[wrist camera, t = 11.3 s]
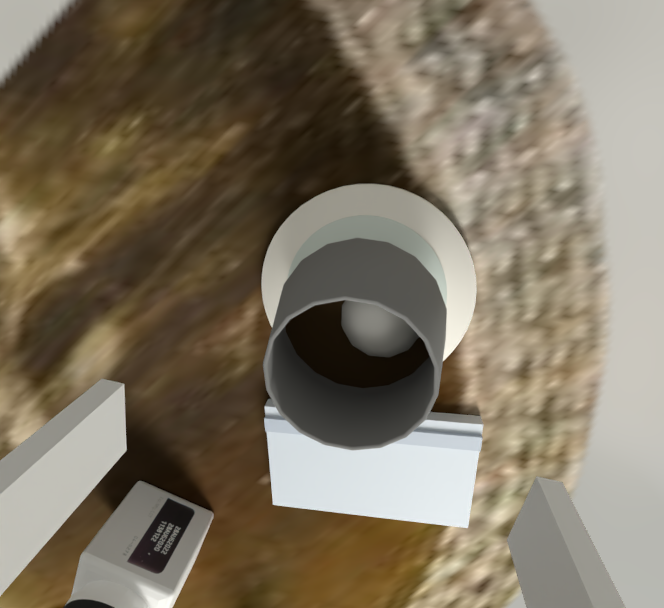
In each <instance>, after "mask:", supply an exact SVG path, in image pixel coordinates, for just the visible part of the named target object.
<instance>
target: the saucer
mask: <svg viewBox="0 0 664 608" xmlns="http://www.w3.org/2000/svg"><path fill="white" fill-rule="evenodd" d="M353 238H363V239H370V240H377V241H384V242H389V243H391V244H393V245H395V246H396V247H398V248H400V249H402V250H404V251H406V252H408V253H410V254H411V255H413V256H415V257H416V258H417V259H418V260H419V261H420V262H421V263H422V265H423V266H424V267H425V268H426V269H427V270H428V271H429V272H430V274H431V275H432V276H433V277H434V278H435V279H436V281H437V283H438V286H439V289H440V292H441V295H442V297H443V300H444V303H445V306H446V308H447V319H446V340H445V347H444V355H443V361H444V360H445V359H446V358H447V357H448V356H449V355H450V354H451V353H452V352H453V350H454V349H455V348H456V346H457V345H458V344H459V343H460V341H461V339H462V338H463V336H464V334H465V333H466V331H467V329H468V326H469V324H470V321H471V319H472V315H473V311H474V307H475V302H476V292H477V289H476V274H475V269H474V264H473V261H472V258H471V255H470V252H469V249H468V247H467V246H466V244H465V242H464V240H463V238H462V236H461V235H460V233H459V232H458V230H457V229H456V227H455V226H454V225H453V223H452V222H451V221H450V220H449V219H448V218H447V217H446V216H445V215H444V214H443V213H442V211H440V210H439V209H438V208H437V207H435V206H434V205H433V204H431V203H430V202H429V201H427V200H425V199H424V198H422V197H420V196H418V195H417V194H414V193H412V192H409V191H407V190H405V189H402V188H398V187H394V186H390V185H384V184H376V183H358V184H351V185H345V186H341V187H338V188H334V189H331V190H328V191H326V192H324V193H322V194H320V195H317V196H315V197H314V198H312V199H311V200H309V201H308V202H306V203H305V204H303V205H301V206H300V207H299V208H298V209H297V210H296V211H294V212H293V213H292V214H291V215H290V216H289V217H288V218H287V219H286V220H285V222H284V223H283V224H282V225H281V226H280V228H279V229H278V231H277V232H276V234H275V235H274V237H273V239H272V241H271V243H270V246H269V248H268V250H267V253H266V257H265V260H264V264H263V270H262V285H261V287H262V297H263V303H264V307H265V311H266V314H267V317H268V319H269V322H270V324H271V326H272V327H273V323H274V319H275V315H276V312H277V308H278V304H279V300H280V296H281V292H282V289H283V285H284V283H285V282H286V280H287V279H288V278H289V276H290V275H291V274H292V272H293V271H294V270H295V268H296V267H297V266H298V264H299V263H300V262H301V260H303V259H304V258H306V257H307V256H309V255H311V254H312V253H314V252H315V251H317V250H318V249H320V248H322V247H323V246H325V245H326V244H329V243H334V242H339V241H344V240H349V239H353Z"/></svg>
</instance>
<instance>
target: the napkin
mask: <svg viewBox="0 0 664 608" xmlns="http://www.w3.org/2000/svg"><path fill="white" fill-rule="evenodd" d="M264 422H265V431H266V432H267V441H268V452H269V464H270V475H271V487H272V498H273V505H279V506H287V507H296V508H304V509H312V510H321V511H329V512H337V513H346V514H354V515H362V516H371V517H379V518H388V519H396V520H404V521H413V522H421V523H429V524H438V525H446V526H454V527H463V528H468V523H469V517H470V510H471V503H472V497H473V490H474V483H475V476H476V470H477V463H478V456H479V451H481V444H482V430H483V422H482V419H481V416H475V415H463V414H451V413H438V412H430V413H429V415H428V417H427V419H426V420H425V421H424V422H423V423H422V424H420V425H419V426H418V427H417V428H416V429H415V430H414V431H413V432H412V433H411V434H409V435H408V436H407V437H406V438H403V439H401V440H399V441H396V442H394V443H391V444H389V445H387V446H384V447H382V448H374V449H363V450H347V449H342V448H337V447H332V446H327V445H323V444H321V443H319V442H317V441H315V440H313V439H311V438H309V437H307V436H305V435H303V434H301V433H299V432H298V431H297V430H296V429H295V428H294V427H293V426H292V425H291V424H290V423H289V422H288V421H287V420H286V419H285V418H283V417H282V416H281V415H280V414H279V412H278V410H277V409H276V407H275V405H274V403H273V401H272V399H268V400H267V402H266V404H265V418H264Z"/></svg>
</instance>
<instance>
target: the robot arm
mask: <svg viewBox="0 0 664 608" xmlns="http://www.w3.org/2000/svg"><path fill="white" fill-rule="evenodd" d="M126 451H127V445H126V419H125V393H124V384H123V383H119V382H114V381H110V380H105V379H101V380H100V381H98V382H97V383H96V384H95V385H93V386H92V387H91V388H90V389H88V390H87V391H86V392H85V393H83V394H82V395H81V396H80V397H78V398H77V399H76V400H75V401H74V402H72V403H71V404H70V405H69V406H67V407H66V408H65V409H64V410H62V411H61V412H60V413H59V414H57V415H56V416H55V417H54V418H52V419H51V420H50V421H49V422H47V423H46V424H45V425H44V426H43V427H41V428H40V429H39V430H38V431H36V432H35V433H34V434H33V435H31V436H30V437H29V438H28V439H26V440H25V441H24V442H23V443H21V444H20V445H19V446H18V447H16V448H15V449H14V450H13V451H12V452H10V453H9V454H8V455H7V456H5V457H4V458H3V459H2V460H0V596H1V595H2V593H3V592H4V591H5V590H6V589H7V588H8V586H9V585H10V584H11V583H12V582H13V581H14V580H15V578H16V577H17V576H18V575H19V574H20V573H21V571H22V570H23V569H24V568H25V567H26V566H27V565H28V563H29V562H30V561H31V560H32V559H33V558H34V557H35V555H36V554H37V553H38V552H39V551H40V550H41V548H42V547H43V546H44V545H45V544H46V543H47V542H48V540H49V539H50V538H51V537H52V536H53V535H54V533H55V532H56V531H57V530H58V529H59V528H60V527H61V525H62V524H63V523H64V522H65V521H66V520H67V518H68V517H69V516H70V515H71V514H72V513H73V512H74V510H75V509H76V508H77V507H78V506H79V505H80V504H81V502H82V501H83V500H84V499H85V498H86V497H87V495H88V494H89V493H90V492H91V491H92V490H93V489H94V487H95V486H96V485H97V484H98V483H99V482H100V480H101V479H102V478H103V477H104V476H105V475H106V474H107V472H108V471H109V470H110V469H111V468H112V467H113V465H114V464H115V463H116V462H117V461H118V460H119V459H120V457H121V456H122V455H123V454H124V453H125V452H126ZM507 542H508V545H509V549H510V552H511V556H512V559H513V562H514V566H515V569H516V573H517V576H518V580H519V583H520V587H521V590H522V593H523V597H524V600H525V604H526V607H527V608H626V607H625V605H624V604H623V601H622V600H621V597H620V595H619V593H618V591H617V590H616V587H615V586H614V583H613V581H612V580H611V578H610V576H609V574H608V572H607V570H606V568H605V566H604V564H603V562H602V560H601V558H600V556H599V554H598V552H597V550H596V548H595V546H594V544H593V542H592V540H591V538H590V536H589V534H588V532H587V530H586V528H585V526H584V524H583V522H582V520H581V518H580V516H579V514H578V512H577V510H576V508H575V506H574V504H573V502H572V500H571V498H570V496H569V494H568V492H567V490H566V488H565V486H564V484H563V482H559V481H555V480H550V479H546V478H541V477H537V476H536V479H535V481H534V483H533V485H532V487H531V489H530V492H529V494H528V496H527V498H526V500H525V502H524V504H523V507H522V509H521V511H520V513H519V515H518V517H517V519H516V522H515V524H514V526H513V528H512V530H511V532H510V535H509V537H508V539H507Z"/></svg>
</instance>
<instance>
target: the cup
mask: <svg viewBox="0 0 664 608" xmlns="http://www.w3.org/2000/svg"><path fill="white" fill-rule="evenodd" d="M446 319H447V308H446V306H445V303H444V300H443V297H442V295H441V292H440V289H439V286H438V283H437V281H436V279H435V278H434V277H433V276H432V275H431V274H430V272H429V271H428V270H427V269H426V268H425V267H424V266H423V265H422V263H421V262H420V261H419V260H418V259H417V258H416V257H415V256H413V255H411V254H410V253H408V252H406V251H404V250H402V249H400V248H398V247H396V246H395V245H393V244H391V243H389V242H384V241H377V240H370V239H363V238H353V239H349V240H344V241H339V242H334V243H329V244H326V245H325V246H323V247H322V248H320V249H318V250H317V251H315V252H314V253H312V254H311V255H309V256H307V257H306V258H304V259H303V260H301V262H300V263H299V264H298V266H297V267H296V268H295V270H294V271H293V272H292V274H291V275H290V276H289V278H288V279H287V280H286V282H285V283H284V285H283V289H282V292H281V296H280V300H279V304H278V308H277V312H276V315H275V319H274V323H273V327H272V331H271V334H270V338H269V342H268V346H267V350H266V354H265V357H264V361H263V369H264V376H265V384H266V390H267V392H268V394H269V396H270V397H271V399H272V401H273V403H274V405H275V407H276V409H277V410H278V412H279V414H280V415H281V416H282V417H283V418H285V419H286V420H287V421H288V422H289V423H290V424H291V425H292V426H293V427H294V428H295V429H296V430H297V431H298V432H299V433H301V434H303V435H305V436H307V437H309V438H311V439H313V440H315V441H317V442H319V443H321V444H323V445H327V446H332V447H337V448H342V449H347V450H363V449H374V448H382V447H384V446H387V445H389V444H391V443H394V442H396V441H399V440H401V439H403V438H406V437H407V436H408V435H409V434H411V433H412V432H413V431H414V430H415V429H416V428H417V427H418V426H419V425H420V424H422V423H423V422H424V421H425V420H426V419H427V417H428V415H429V413H430V411H431V409H432V407H433V405H434V403H435V400H436V398H437V396H438V393H439V385H440V378H441V370H442V363H443V355H444V347H445V340H446Z"/></svg>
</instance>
